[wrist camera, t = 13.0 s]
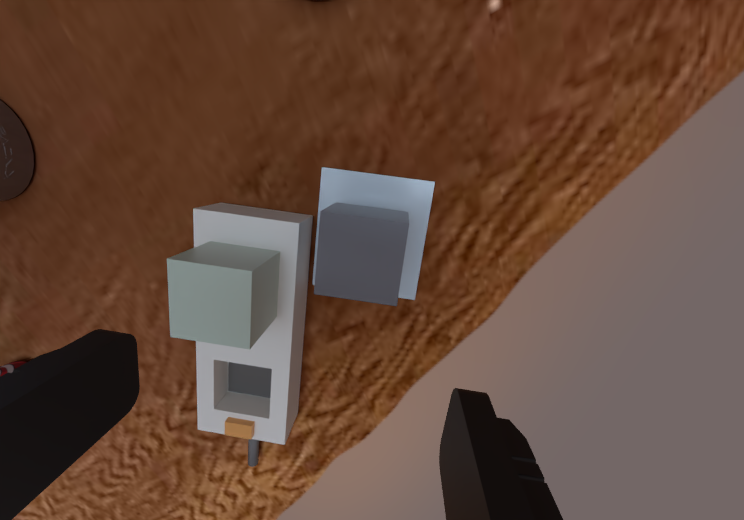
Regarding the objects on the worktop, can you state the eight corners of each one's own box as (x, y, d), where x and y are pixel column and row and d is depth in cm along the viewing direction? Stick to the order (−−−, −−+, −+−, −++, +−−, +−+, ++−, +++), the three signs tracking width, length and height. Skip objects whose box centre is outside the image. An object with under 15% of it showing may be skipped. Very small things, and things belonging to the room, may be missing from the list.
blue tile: (313, 283, 31) (312, 284, 30) (322, 167, 28) (321, 167, 27) (414, 298, 30) (414, 299, 30) (434, 181, 27) (435, 182, 27)
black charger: (335, 262, 29) (313, 293, 22) (341, 199, 28) (320, 211, 21) (398, 271, 29) (396, 306, 22) (407, 207, 28) (409, 223, 21)
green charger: (225, 295, 30) (170, 336, 23) (226, 234, 28) (166, 258, 21) (286, 304, 30) (249, 349, 23) (290, 244, 28) (252, 271, 21)
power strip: (294, 460, 36) (279, 502, 32) (220, 447, 37) (195, 487, 32) (313, 215, 29) (296, 224, 25) (220, 202, 29) (188, 209, 25)
